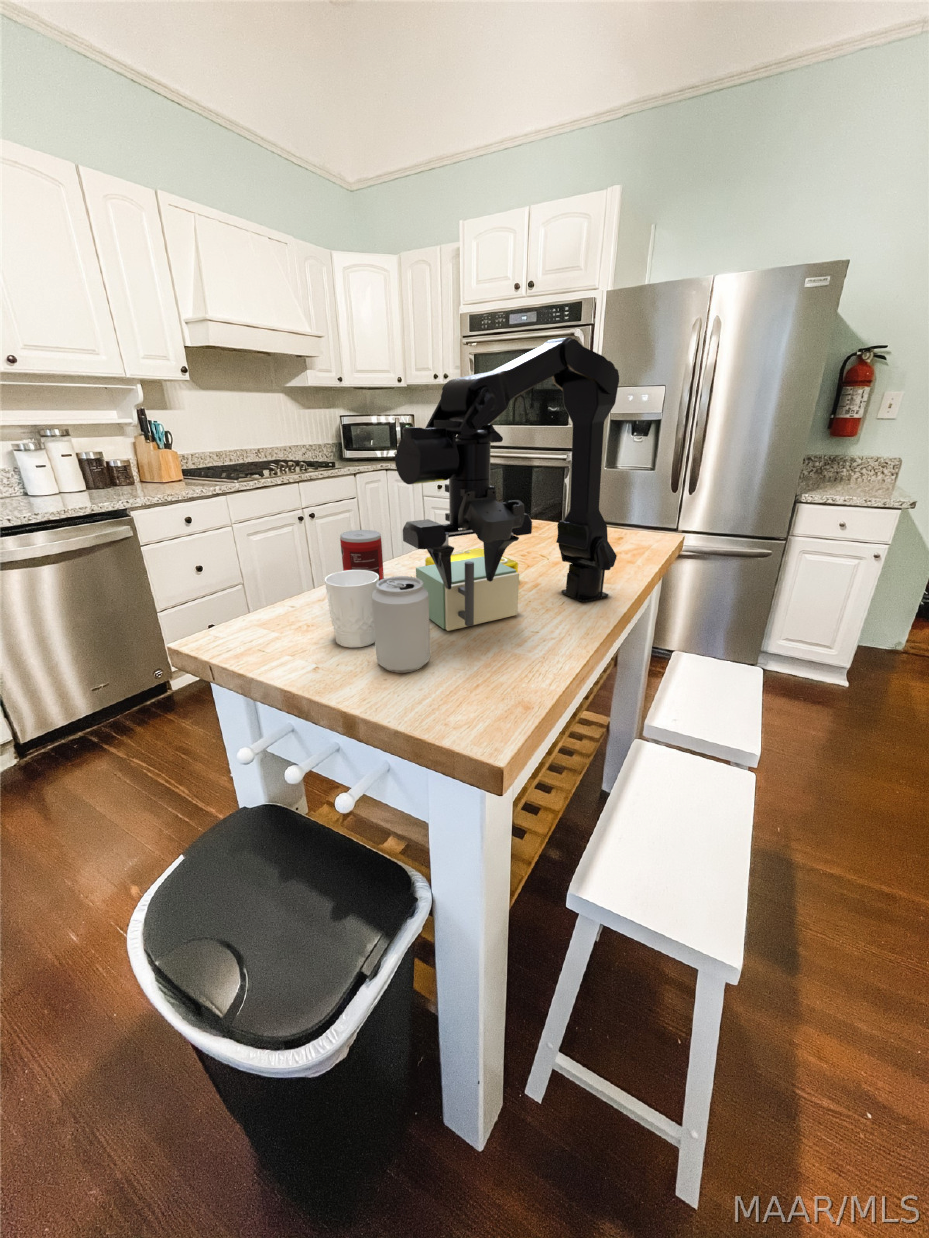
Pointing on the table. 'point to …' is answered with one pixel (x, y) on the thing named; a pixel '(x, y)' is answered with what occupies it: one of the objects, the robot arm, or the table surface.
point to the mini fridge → (437, 587)
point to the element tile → (474, 554)
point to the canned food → (362, 551)
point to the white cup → (352, 606)
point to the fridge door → (480, 599)
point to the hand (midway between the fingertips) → (469, 584)
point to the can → (401, 623)
